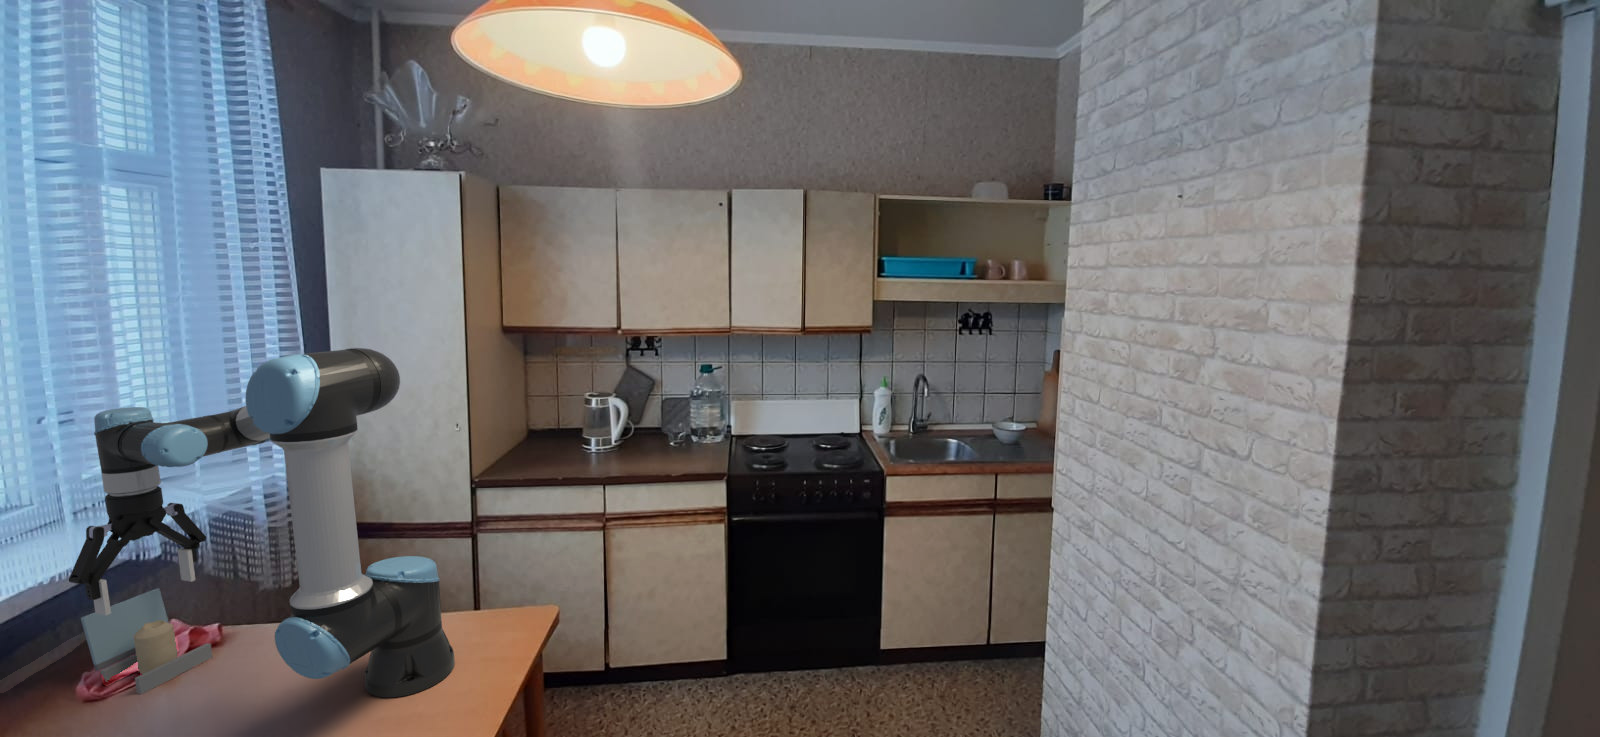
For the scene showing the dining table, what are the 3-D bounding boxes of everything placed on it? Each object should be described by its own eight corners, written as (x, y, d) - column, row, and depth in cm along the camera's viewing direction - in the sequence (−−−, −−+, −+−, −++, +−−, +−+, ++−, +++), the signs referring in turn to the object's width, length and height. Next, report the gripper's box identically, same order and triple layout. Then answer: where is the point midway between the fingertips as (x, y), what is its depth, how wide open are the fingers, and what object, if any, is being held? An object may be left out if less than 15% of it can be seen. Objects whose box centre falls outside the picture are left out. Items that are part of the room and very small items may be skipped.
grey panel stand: (212, 657, 133) (210, 643, 132) (140, 694, 121) (138, 678, 121) (176, 650, 135) (174, 636, 135) (102, 685, 124) (100, 670, 123)
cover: (159, 588, 134) (156, 588, 134) (83, 617, 122) (80, 617, 123) (172, 636, 135) (169, 637, 135) (98, 670, 123) (95, 670, 124)
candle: (154, 681, 125) (147, 633, 124) (131, 678, 126) (124, 629, 125) (186, 665, 130) (179, 618, 129) (164, 661, 132) (157, 615, 130)
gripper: (193, 469, 136) (205, 565, 139) (28, 510, 112) (47, 626, 115) (221, 472, 134) (232, 570, 137) (58, 515, 110) (77, 632, 113)
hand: (148, 596), depth 126 cm, fingers open, 13 cm apart
